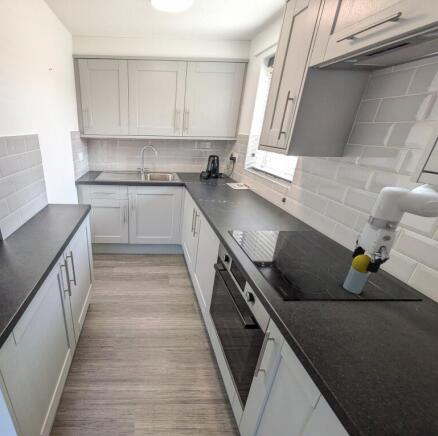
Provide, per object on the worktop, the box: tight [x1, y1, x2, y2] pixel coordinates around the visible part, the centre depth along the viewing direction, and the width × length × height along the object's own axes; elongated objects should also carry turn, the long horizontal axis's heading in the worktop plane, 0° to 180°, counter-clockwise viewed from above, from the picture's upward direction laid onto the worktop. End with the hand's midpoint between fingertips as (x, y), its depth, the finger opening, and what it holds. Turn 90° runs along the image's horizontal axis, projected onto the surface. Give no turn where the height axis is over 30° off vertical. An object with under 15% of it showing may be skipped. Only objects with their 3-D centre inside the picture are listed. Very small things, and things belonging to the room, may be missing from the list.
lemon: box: [351, 254, 371, 273], centre depth 86 cm, size 6×6×8 cm
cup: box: [342, 265, 371, 295], centre depth 89 cm, size 6×6×9 cm
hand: (363, 264), depth 86 cm, fingers open, 9 cm apart
